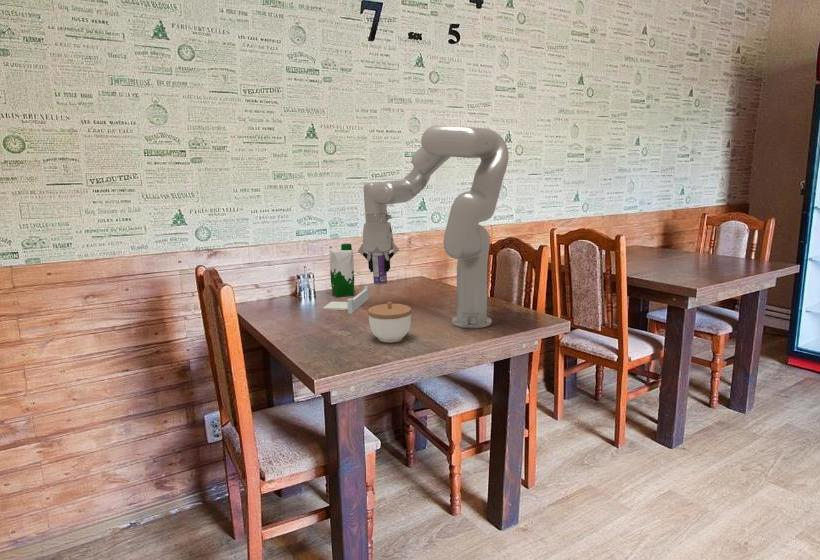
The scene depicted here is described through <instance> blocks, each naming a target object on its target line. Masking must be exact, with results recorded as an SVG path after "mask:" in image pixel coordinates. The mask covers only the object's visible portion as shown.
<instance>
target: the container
mask: <svg viewBox="0 0 820 560" xmlns="http://www.w3.org/2000/svg"><path fill="white" fill-rule="evenodd" d="M385 259H386V258H385V255H384V252H381V251H380V250H379V249H378V248H377V247H376V248H375V249H374V252H372V263H373V272H372V275H373V277H372V278H373V285H376V286H378V285H379V286H382V285H386V284H388V274H387V273H388V272H385V262H384V261H385Z"/></svg>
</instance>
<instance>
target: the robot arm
mask: <svg viewBox="0 0 820 560" xmlns="http://www.w3.org/2000/svg"><path fill="white" fill-rule="evenodd" d="M420 142H421V147H419V149H418V150H416V151H415V152H414V153H413V154H412V156H411V163H412V165H413V168H412V169H411V170H410V171H409V173H408V174H407V175H405V176H404V177H403V178H402V179H400V180H388V181H387V180H386V181H382V182H381V181H374V182H367V183H364V185H363V202H364V205H363V206H364V215H365V222H364V224H363V230H362V244H360V247H359V249H358V250H357V252H358V253H359V254H360V255H362V256H363V257H364V258H365V260H367V262H368V263H367V264H368V270H369V273H373V263H372V252H374V249H375V248H376V247H377V248H378V249H379V250H380V251H381V252H384V255H385V258H386V259H385V261H384V262H385V272H387V273H388V272H389V271H390V269H391V259H392V258H393V257H394V255H396V254H397V253H398V252H399V251H400V248H399V247H398V246H397V245H396V244H395V243H394V236H393V229H392V225H391V221H389V220H392V215H391V214H389V213H388V207H387V205H395V204H401V203H408V202H409V201H411V200H412V199H414V198H415V197H416V196H418V194H420V193H421V191H423V189H424V188H426V186H427V185H428V182H429V181H430V180H431V176H432V175H433V174H434V173H436V171H437V170H438V169H439V168H440V167H441V166H442V165H444V164H445V162H447V161H449V159H450V158H451V157H452V158H453V157H454V158H463V159H480V163H479V165H478V166H477V169H476V171H475V173H474V176H473V181H472V183H471V188H470V190H468V191H464V192H462V193H459V195H457V197H455V199H454V201H453V202H452V205H451V207H450V211H449V213H448V214H449V216H448V218H447V223H446V225H445V230H444V236H443V249H444V251H445V253H446V254H447V256H449V257H450V258H451V259H454V260H457V262H456V316H454V317H453V318H452V319H451V324H452V325H454V326H455V327H458V328H462V329H482V328H486V327H490V325H492V322H493V321H492V320H493V319H492V318H490V317H488V314H487V313H488V263H489V262H488V261H489V253H490V246H491V237H490V233H489V232H488V231H489V230H487V228H485V226H484V225H481V224H480V223H483V222H486V221H488V220H490V219H491V218H492V217H493V215H494V214H495V211H496V209H497V204H498V200H499V197H500V192H501V189H502V186H503V182H504V177H505V174H506V172H507V168H508V164H509V154H510V153H509V148H508V146H507V142H506V141H505V139H504V138H503V137H502V136H501V135H500V134H499V133H498V132H496V131H495V130H492V129H489V128H485V127H484V128H483V127H471V126H447V125H437V124H436V125H431V126H429V127H427V128H426V129H425V131H424V132H423V133H422V136H421V140H420ZM391 250H392V251H391ZM390 251H391V252H390Z"/></svg>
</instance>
